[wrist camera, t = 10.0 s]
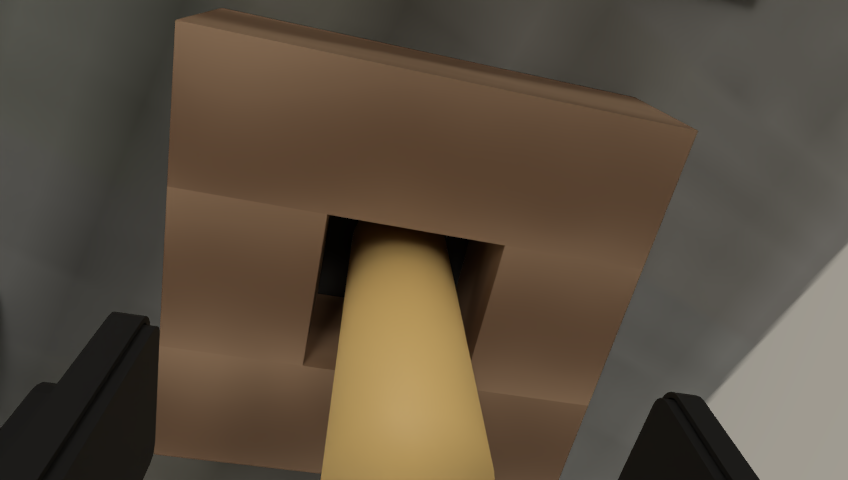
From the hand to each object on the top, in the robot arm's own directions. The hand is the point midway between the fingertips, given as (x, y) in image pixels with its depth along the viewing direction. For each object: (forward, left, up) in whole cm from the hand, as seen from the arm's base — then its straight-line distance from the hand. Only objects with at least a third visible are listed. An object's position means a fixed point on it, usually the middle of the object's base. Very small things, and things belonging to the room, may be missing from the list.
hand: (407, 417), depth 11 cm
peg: (+1, 0, -9) cm, 9 cm away
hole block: (+1, 0, -9) cm, 9 cm away
